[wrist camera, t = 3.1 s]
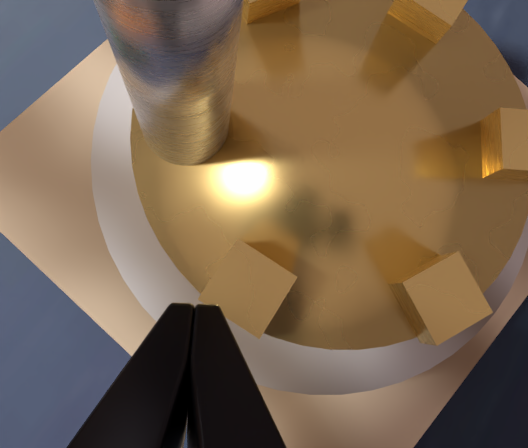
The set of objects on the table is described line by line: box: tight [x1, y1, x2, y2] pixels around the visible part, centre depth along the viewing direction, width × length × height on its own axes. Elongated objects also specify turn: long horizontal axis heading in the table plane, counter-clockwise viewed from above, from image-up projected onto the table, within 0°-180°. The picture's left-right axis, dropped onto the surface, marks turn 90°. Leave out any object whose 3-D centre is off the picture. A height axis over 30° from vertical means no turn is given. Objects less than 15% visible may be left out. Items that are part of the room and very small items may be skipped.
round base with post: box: [94, 0, 528, 350], centre depth 11 cm, size 12×12×11 cm
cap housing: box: [0, 39, 528, 448], centre depth 17 cm, size 18×18×3 cm
